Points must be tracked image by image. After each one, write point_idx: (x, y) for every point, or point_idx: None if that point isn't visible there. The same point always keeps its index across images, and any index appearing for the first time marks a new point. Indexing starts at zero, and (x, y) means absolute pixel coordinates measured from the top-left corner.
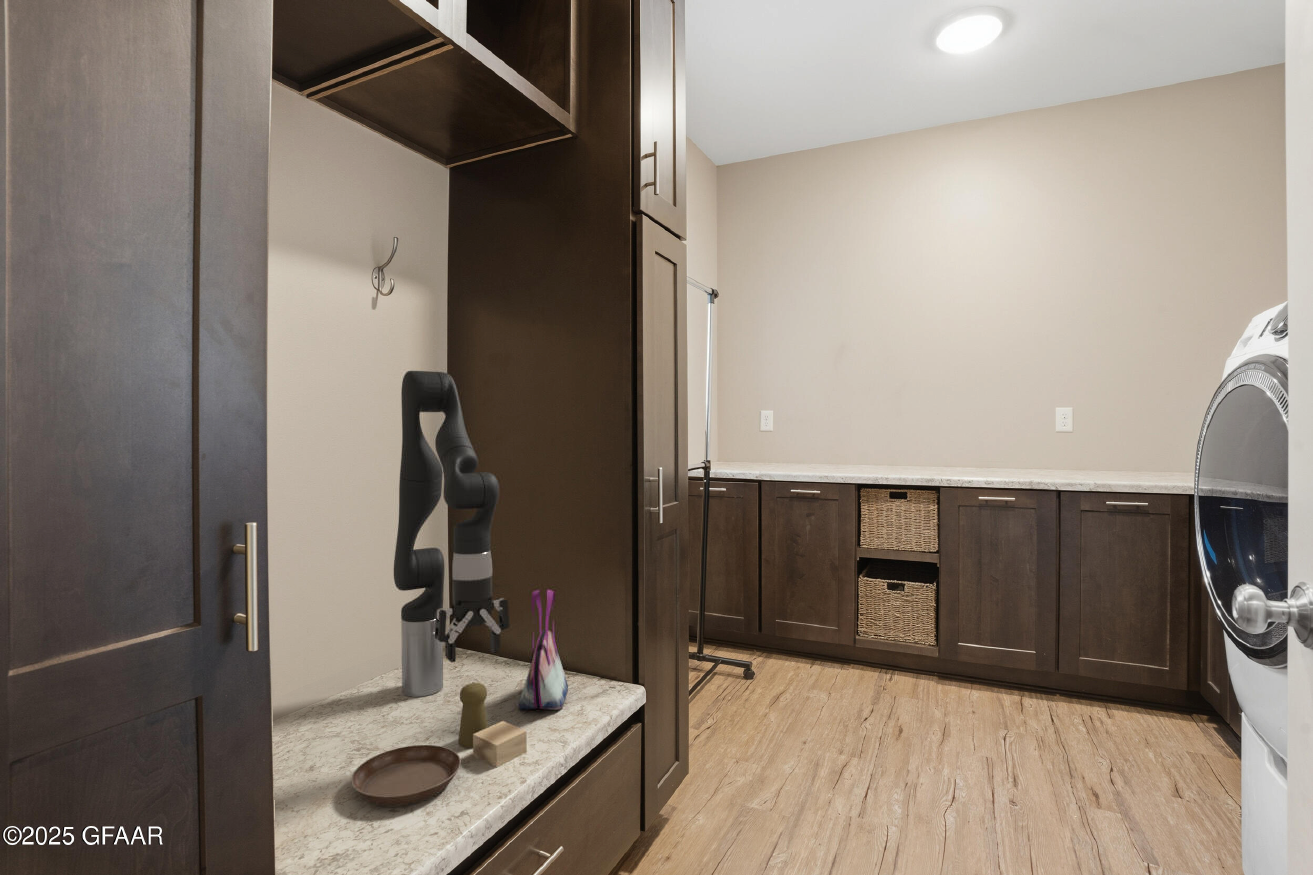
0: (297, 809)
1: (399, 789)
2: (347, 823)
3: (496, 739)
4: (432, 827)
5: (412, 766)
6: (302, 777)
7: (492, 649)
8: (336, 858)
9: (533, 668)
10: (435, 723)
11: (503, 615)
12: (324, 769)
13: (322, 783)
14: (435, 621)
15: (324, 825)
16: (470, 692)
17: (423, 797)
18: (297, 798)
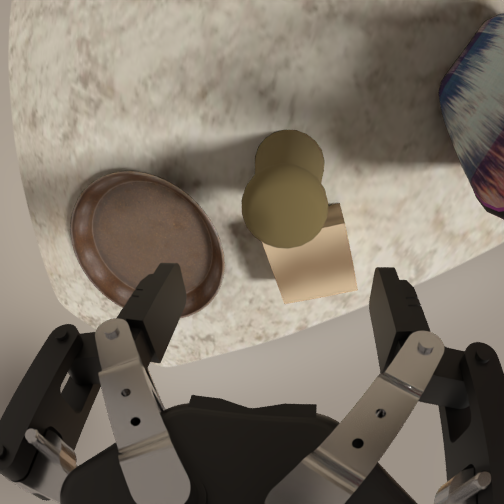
0: (39, 222)
1: (137, 257)
2: (90, 281)
3: (293, 287)
4: (173, 338)
5: (158, 201)
6: (28, 142)
7: (373, 296)
8: (93, 322)
9: (498, 208)
10: (238, 27)
11: (449, 461)
12: (46, 131)
13: (49, 173)
14: (13, 397)
15: (70, 270)
16: (263, 241)
17: None
18: (33, 196)
